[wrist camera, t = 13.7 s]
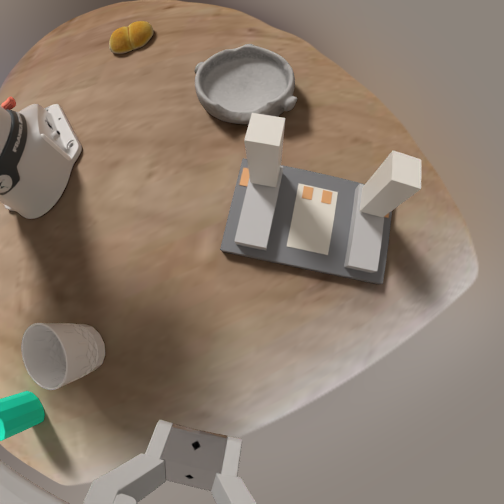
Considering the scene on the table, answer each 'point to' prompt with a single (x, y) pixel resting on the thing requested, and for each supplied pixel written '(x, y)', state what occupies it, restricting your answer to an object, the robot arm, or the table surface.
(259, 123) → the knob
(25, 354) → the white cup
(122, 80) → the table surface
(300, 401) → the table surface
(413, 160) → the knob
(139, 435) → the table surface
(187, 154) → the table surface
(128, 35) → the bread roll
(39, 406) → the candle
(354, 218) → the switch box
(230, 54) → the dish
